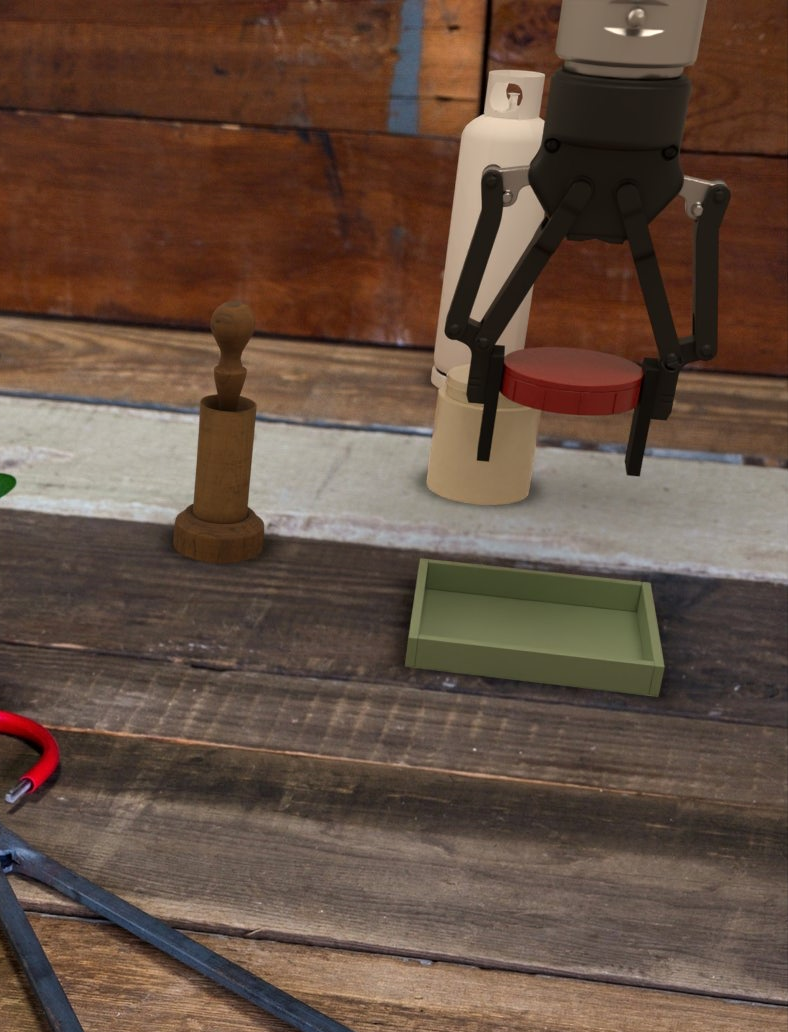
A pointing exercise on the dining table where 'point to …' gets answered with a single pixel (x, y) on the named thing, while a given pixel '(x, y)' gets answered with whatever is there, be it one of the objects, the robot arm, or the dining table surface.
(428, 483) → the jam jar
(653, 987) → the dining table surface
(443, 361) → the bottle
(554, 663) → the tray
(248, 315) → the mortar and pestle
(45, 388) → the dining table surface
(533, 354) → the jam lid
